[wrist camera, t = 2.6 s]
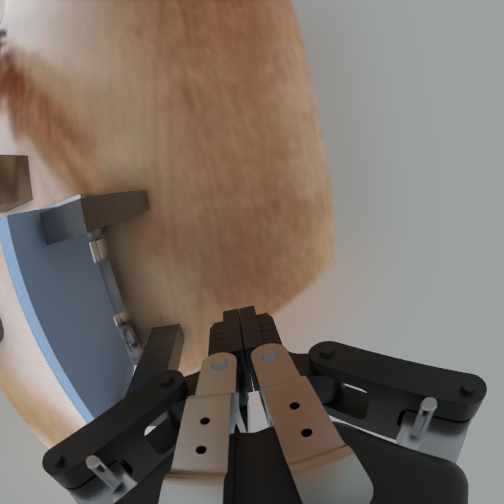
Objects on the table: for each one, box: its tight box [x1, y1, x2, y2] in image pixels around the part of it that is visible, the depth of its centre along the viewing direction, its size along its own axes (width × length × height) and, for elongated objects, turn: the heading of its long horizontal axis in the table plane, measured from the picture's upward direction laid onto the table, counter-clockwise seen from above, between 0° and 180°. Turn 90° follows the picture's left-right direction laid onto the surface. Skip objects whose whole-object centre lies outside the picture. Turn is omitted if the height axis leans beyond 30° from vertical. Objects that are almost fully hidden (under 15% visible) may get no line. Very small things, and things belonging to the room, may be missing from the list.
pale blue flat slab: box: [0, 207, 134, 424], centre depth 17 cm, size 16×14×2 cm
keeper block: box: [0, 155, 33, 213], centre depth 18 cm, size 5×5×6 cm
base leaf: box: [40, 190, 184, 426], centre depth 18 cm, size 18×19×12 cm
